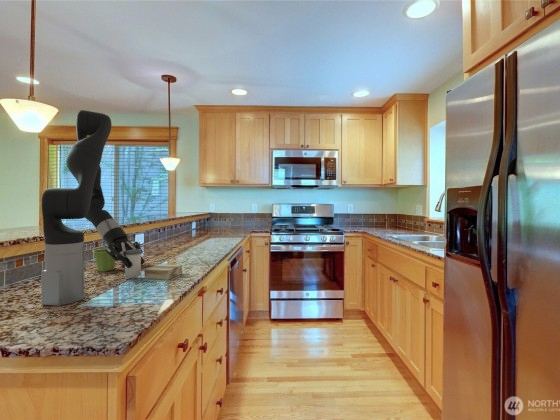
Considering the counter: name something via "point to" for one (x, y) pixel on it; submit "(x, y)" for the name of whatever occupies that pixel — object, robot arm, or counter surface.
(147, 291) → the counter surface
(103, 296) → the counter surface
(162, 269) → the maple base
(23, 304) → the counter surface
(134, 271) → the spice jar
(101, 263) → the plant pot
